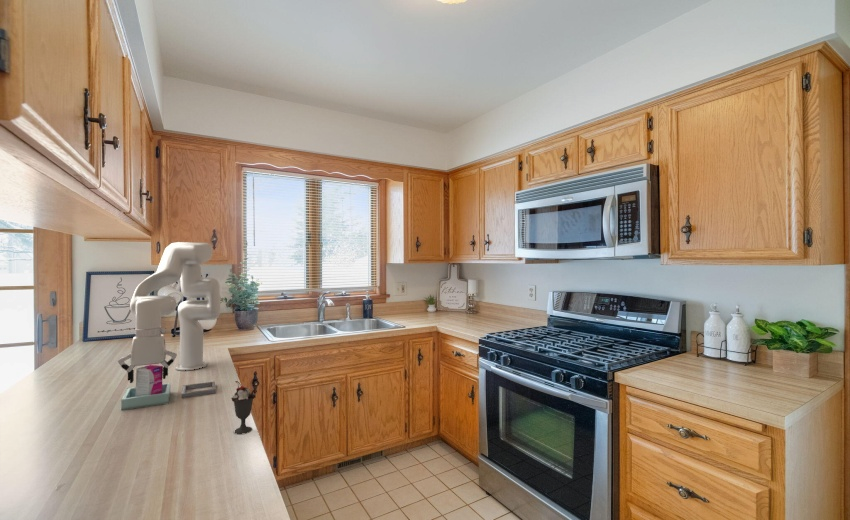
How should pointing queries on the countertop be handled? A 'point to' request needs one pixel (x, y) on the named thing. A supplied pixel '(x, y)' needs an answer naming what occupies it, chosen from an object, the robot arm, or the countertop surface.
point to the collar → (196, 393)
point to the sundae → (243, 406)
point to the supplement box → (149, 380)
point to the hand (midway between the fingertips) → (148, 379)
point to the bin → (145, 398)
